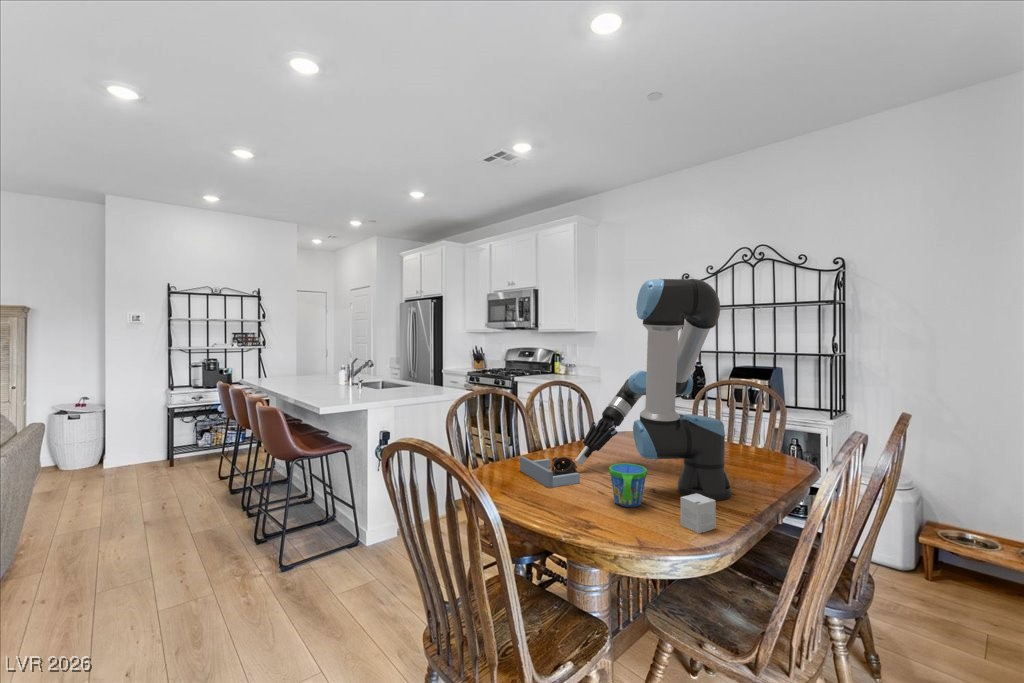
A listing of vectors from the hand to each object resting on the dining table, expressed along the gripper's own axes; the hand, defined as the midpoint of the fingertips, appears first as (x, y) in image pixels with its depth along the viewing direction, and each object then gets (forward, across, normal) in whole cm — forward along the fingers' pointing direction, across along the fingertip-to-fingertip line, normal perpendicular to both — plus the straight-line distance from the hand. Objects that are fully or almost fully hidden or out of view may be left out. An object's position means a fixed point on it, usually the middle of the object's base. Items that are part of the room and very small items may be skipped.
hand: (578, 463), depth 167 cm
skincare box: (+2, -53, -3) cm, 53 cm away
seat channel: (+11, +1, +6) cm, 12 cm away
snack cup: (+6, -32, 0) cm, 32 cm away
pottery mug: (+8, -2, +3) cm, 9 cm away
